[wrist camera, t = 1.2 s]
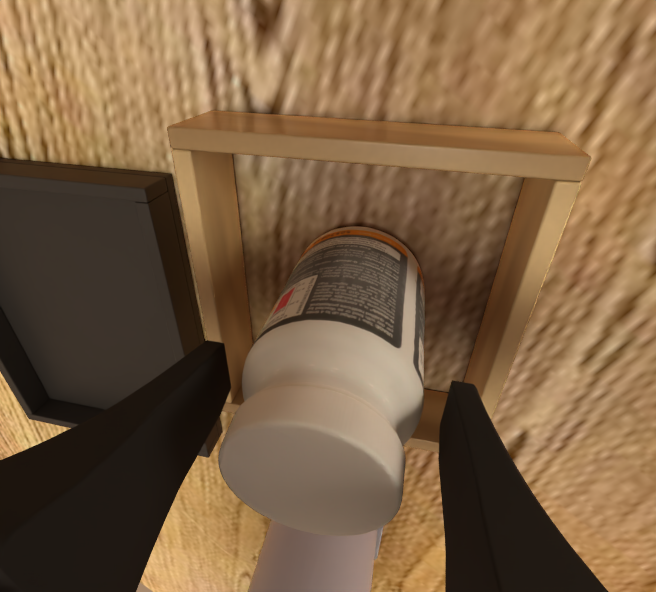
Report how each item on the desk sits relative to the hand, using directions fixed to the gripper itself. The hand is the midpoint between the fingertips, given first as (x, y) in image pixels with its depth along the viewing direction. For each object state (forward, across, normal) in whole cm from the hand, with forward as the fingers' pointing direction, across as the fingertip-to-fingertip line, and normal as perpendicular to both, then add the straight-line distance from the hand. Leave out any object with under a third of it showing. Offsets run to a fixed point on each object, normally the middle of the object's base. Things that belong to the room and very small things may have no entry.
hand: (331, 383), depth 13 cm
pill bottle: (+7, 0, 0) cm, 7 cm away
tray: (+6, +15, +5) cm, 17 cm away
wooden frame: (+6, 0, 0) cm, 6 cm away
